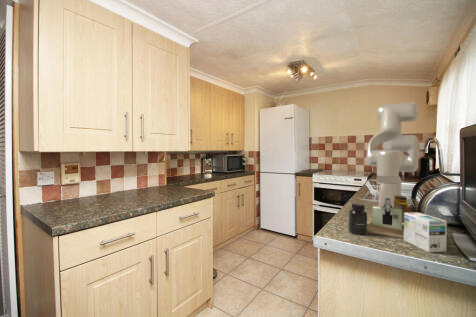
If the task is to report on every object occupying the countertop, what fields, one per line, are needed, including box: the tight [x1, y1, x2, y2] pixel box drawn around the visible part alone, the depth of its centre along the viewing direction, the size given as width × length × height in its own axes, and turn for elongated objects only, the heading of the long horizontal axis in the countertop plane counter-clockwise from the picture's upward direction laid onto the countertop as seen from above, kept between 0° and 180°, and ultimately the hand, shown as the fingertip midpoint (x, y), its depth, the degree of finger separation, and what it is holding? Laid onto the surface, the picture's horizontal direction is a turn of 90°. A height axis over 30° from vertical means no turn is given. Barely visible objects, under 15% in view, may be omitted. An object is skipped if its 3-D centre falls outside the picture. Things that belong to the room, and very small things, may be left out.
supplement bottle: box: [347, 202, 368, 236], centre depth 92 cm, size 7×7×12 cm
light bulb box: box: [403, 212, 448, 253], centre depth 79 cm, size 11×7×11 cm, turn 5°
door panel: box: [372, 206, 403, 229], centre depth 92 cm, size 3×10×9 cm, turn 58°
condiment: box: [393, 195, 409, 225], centre depth 107 cm, size 7×8×12 cm
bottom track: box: [367, 219, 404, 239], centre depth 92 cm, size 7×14×3 cm, turn 58°
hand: (386, 221), depth 92 cm, fingers open, 9 cm apart
